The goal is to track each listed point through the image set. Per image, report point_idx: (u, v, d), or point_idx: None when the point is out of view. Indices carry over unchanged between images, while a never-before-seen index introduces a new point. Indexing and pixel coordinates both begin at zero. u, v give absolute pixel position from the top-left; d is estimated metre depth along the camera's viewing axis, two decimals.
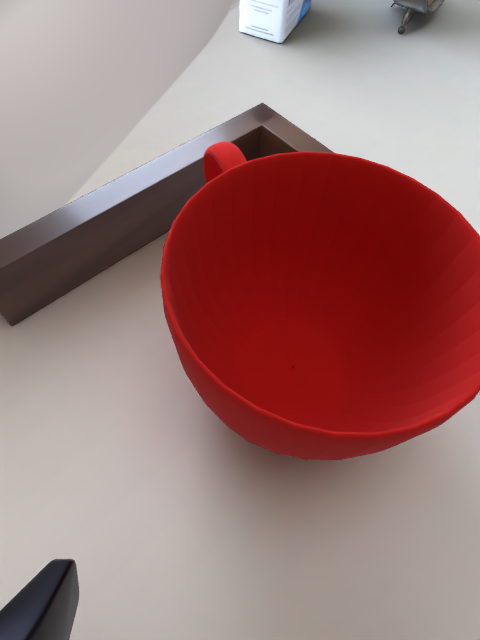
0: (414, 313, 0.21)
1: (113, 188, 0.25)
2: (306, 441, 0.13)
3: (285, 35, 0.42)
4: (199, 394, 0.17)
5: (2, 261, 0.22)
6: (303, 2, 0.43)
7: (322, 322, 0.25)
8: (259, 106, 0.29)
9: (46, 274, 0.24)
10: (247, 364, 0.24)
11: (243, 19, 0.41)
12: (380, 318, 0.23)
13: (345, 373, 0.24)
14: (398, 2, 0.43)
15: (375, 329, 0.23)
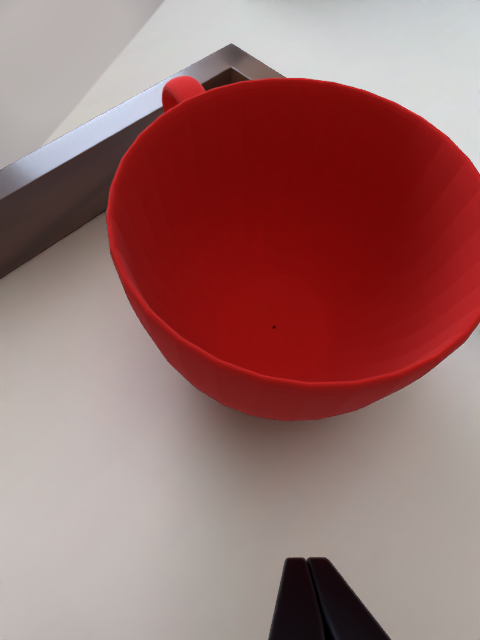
0: (401, 259, 0.19)
1: (68, 141, 0.22)
2: (278, 396, 0.12)
3: None
4: None
5: None
6: None
7: (304, 278, 0.23)
8: (227, 47, 0.27)
9: None
10: (224, 326, 0.22)
11: None
12: (366, 269, 0.21)
13: (330, 331, 0.22)
14: None
15: (361, 281, 0.21)
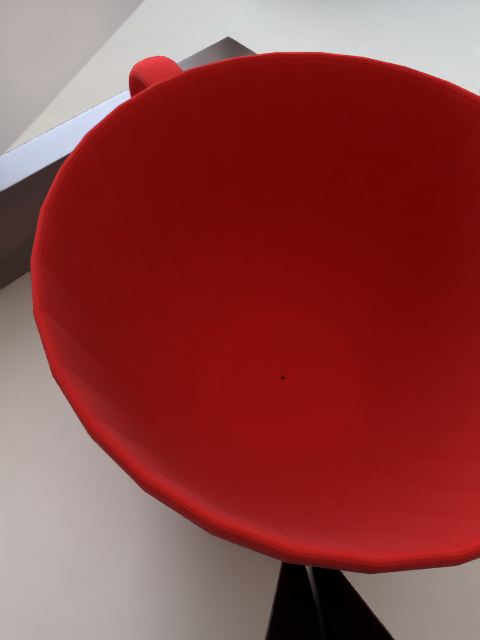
0: (452, 292, 0.14)
1: (16, 158, 0.17)
2: None
3: None
4: None
5: None
6: None
7: (318, 312, 0.18)
8: (223, 41, 0.22)
9: None
10: (220, 379, 0.17)
11: None
12: (399, 302, 0.16)
13: (355, 381, 0.17)
14: None
15: (393, 318, 0.17)
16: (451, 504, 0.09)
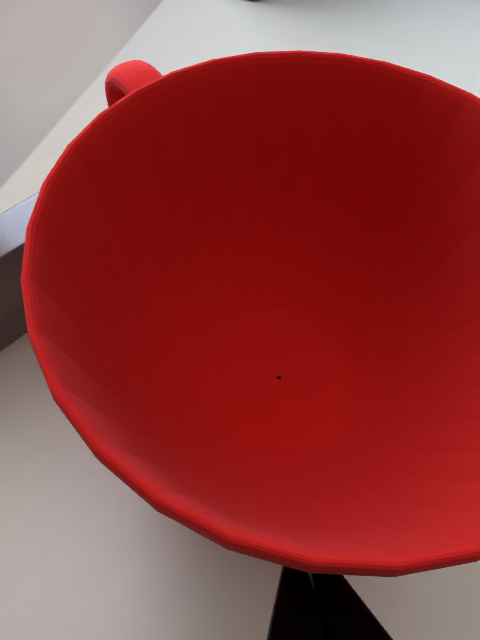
0: (441, 283, 0.15)
1: None
2: None
3: None
4: None
5: None
6: None
7: (309, 310, 0.18)
8: None
9: None
10: (216, 384, 0.17)
11: None
12: (390, 295, 0.16)
13: (351, 377, 0.17)
14: None
15: (385, 311, 0.17)
16: (459, 496, 0.09)
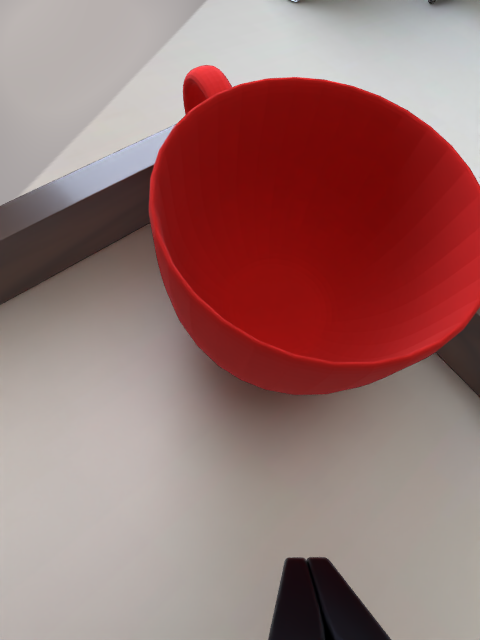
0: (399, 252, 0.21)
1: (86, 175, 0.21)
2: (304, 373, 0.13)
3: None
4: (190, 333, 0.17)
5: None
6: None
7: (305, 264, 0.25)
8: None
9: (3, 271, 0.21)
10: (231, 307, 0.23)
11: None
12: (364, 259, 0.23)
13: (328, 315, 0.24)
14: None
15: (359, 270, 0.23)
16: None
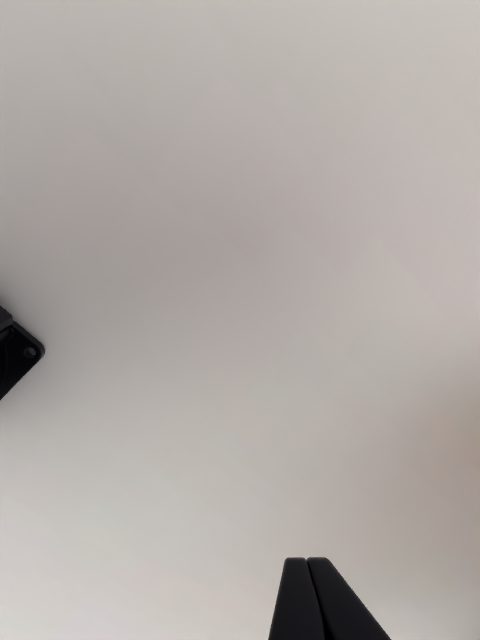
0: None
1: None
2: None
3: None
4: None
5: None
6: None
7: None
8: None
9: None
10: None
11: None
12: None
13: None
14: None
15: None
16: None
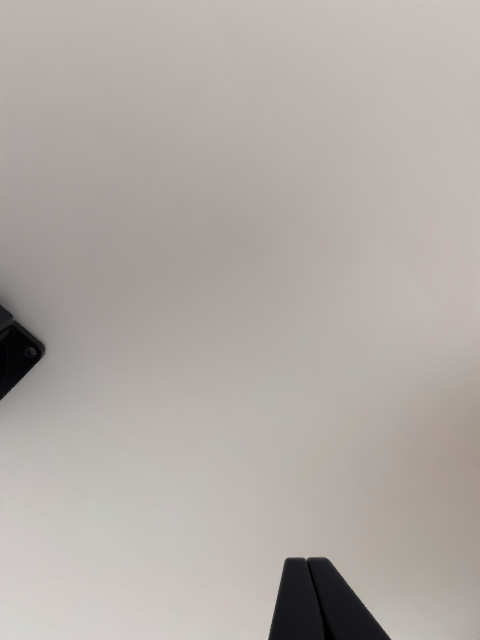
0: None
1: None
2: None
3: None
4: None
5: None
6: None
7: None
8: None
9: None
10: None
11: None
12: None
13: None
14: None
15: None
16: None
